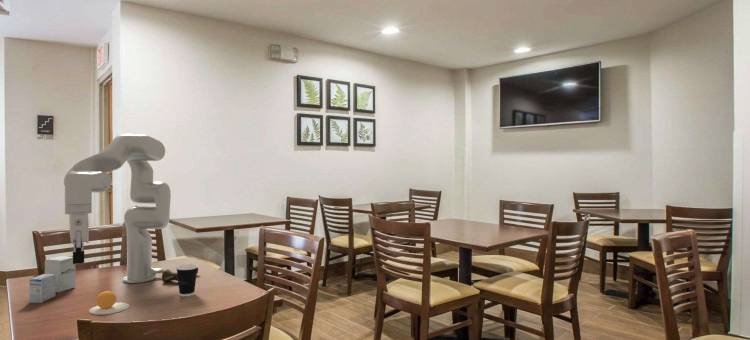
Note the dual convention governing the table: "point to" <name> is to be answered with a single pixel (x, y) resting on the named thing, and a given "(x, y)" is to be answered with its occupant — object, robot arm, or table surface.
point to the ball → (106, 299)
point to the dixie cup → (186, 279)
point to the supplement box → (61, 272)
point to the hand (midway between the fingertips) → (78, 263)
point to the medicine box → (42, 288)
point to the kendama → (170, 275)
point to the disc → (109, 309)
